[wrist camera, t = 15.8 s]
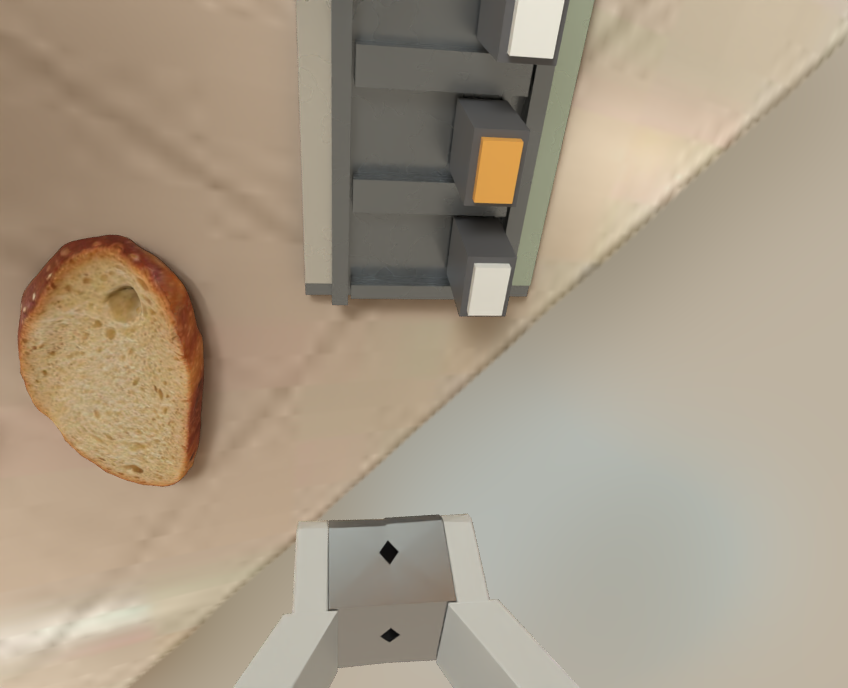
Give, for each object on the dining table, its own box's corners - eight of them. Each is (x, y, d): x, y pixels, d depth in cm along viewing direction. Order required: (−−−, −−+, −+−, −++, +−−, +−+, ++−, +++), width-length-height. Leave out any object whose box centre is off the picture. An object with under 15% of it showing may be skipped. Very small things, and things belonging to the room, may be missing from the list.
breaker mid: (457, 97, 33) (476, 131, 29) (507, 100, 34) (533, 134, 30) (449, 168, 36) (465, 209, 32) (495, 170, 36) (518, 211, 32)
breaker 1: (453, 216, 38) (469, 261, 33) (497, 217, 38) (519, 261, 34) (446, 272, 40) (460, 321, 36) (488, 273, 41) (507, 321, 36)
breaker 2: (487, -54, 29) (515, -41, 25) (544, -49, 30) (580, -34, 25) (476, 38, 32) (499, 64, 27) (528, 41, 32) (559, 68, 28)
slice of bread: (164, 485, 52) (154, 522, 49) (-59, 367, 42) (-88, 405, 39) (317, 370, 46) (316, 404, 43) (101, 204, 37) (81, 234, 34)
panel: (293, -128, 28) (290, -128, 26) (604, -94, 30) (623, -92, 28) (306, 284, 41) (305, 304, 39) (522, 287, 43) (530, 306, 42)
